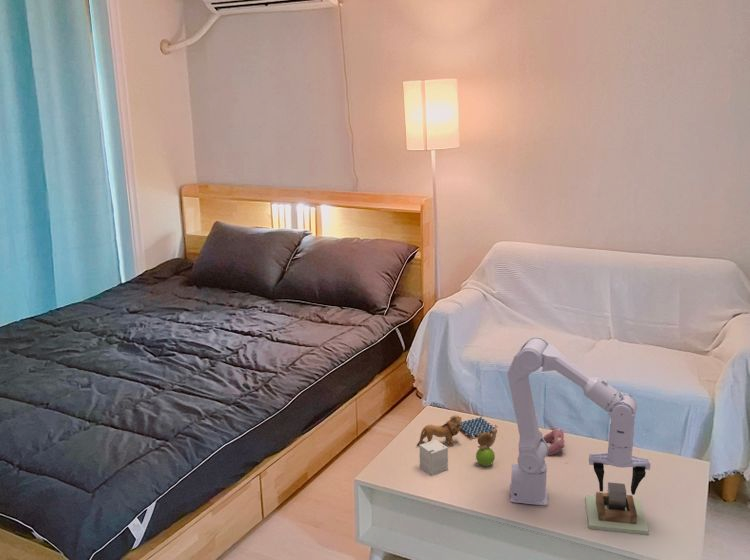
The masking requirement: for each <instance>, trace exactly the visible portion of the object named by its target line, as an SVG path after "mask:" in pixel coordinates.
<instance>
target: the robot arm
mask: <svg viewBox="0 0 750 560" xmlns="http://www.w3.org/2000/svg"><path fill="white" fill-rule="evenodd" d="M540 368H542V369H541V372H551V371H555V372H557V373H558V374H560V375H562V376H563V377H565V378H566V379H568V380H569V381H571V382H573V384H576V385H577V386H579V387H580V388H581V389H582V390H583V391H582V392H583V395H584V396H585V397H586V398H588V399H589V400H591V402H593V403H594V404H596V405H598V406H599V407H600V408H601V409H602V410H604V411H605V412H607V413H608V415H609V418H610V423H609V431H608V432H609V433H608V445H607V447H608V448H607V452H606V453H597V454H594V453H593V454H591V453H589V454H588V464H589V466H590V465H591V466H593V470H594V473H595V475H596V478H597V480H598V488H599V492H600V493H604V475H605V467H604V465H606V466H612V467H616V468H632V478H631V482H630V483H631V485H630V492H631V495H632V496H633V495H634V496H635V495H636V491H637V489H638V487H639V485H640V483H641V481H642V480H643V479H644V478H645V477H646V471H647V470H648V471H650V470H651V464H652V463H651V460H650V459H649V458H648V459H647V458H643V457H639V456H635V455H633V444H634V435H635V417H636V416H635V415H636V412H637V407H638V405H637V401H636V399H635V398H634V397H633V396H632V395H631V394H629V393H626V392H622V391H619V390H617V389H616V388H614V387H613V386H612V385H610V384H609V383H608V382H609V381H608V380H607V379H605V378H604V377H603V378H600V377H599V376H590V375H589V374H587V373H586V372H585V371H584V370H583V369H581V368H580V367H579V366H577V365H576V364H575V363H574V362H573V361H571V360H570V359H569V358H567V357H566V356H565V355H564V354H563V353H561V352H560V350H558V349H557V348H556V347H555V345H553V344H552V343H549V342H548V341H547V340H545V339H544V338H543V337H539V336H534V337H531V338H529V339H528V340H527V341H526V342H525V343H524V344H523V345H522V346H521V347H520V349H519V351H517V353H516V354H515V355H514V356H513V359H512V362H511V364H510V366H509V368H508V371H507V379H508V384H509V390H510V395H511V398H512V400H511V401H512V404H513V409H514V410H513V411H514V415H515V419H516V424H517V429H518V433H519V441H518V453H519V454H518V456H517V463H515V464H513V463H512V464H511V473H510V475H511V476H510V477H511V480H510V483H509V491H510V503H515V504H516V503H517V504H525V505H534V506H535V505H536V506H546V507H547V505H548V489H547V472H548V469H547V467H548V466H547V463H546V460H545V459H546V457H547V456H548V455H547V454H548V452H549V445H548V442H545V440H544V435H543V432H542V431H540V429H539V425H538V419H537V415H536V410H535V405H534V404H535V403H534V399H533V393H532V389H531V383H530V378H529V376H530V374H532V373H534V372H537V371H538V370H539V369H540Z"/></svg>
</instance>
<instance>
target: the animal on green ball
mask: <svg viewBox="0 0 750 560" xmlns="http://www.w3.org/2000/svg"><path fill="white" fill-rule="evenodd" d="M494 427H495V428H494V429H493V430H492V432H493V433H492V435H491V434H490V433H487V432H484V433H482V434H480V435H479V437H478V436H477V437H478V438H477V444H478V446H477V447H478V450H477V451H476V453H475V459H476V461H477V463H478V464H480V465H481V466H483V467H488V466H490V465H492V464H493V463H494V461H495V458H496V455H495V452H494V451H493V449H492V448H490V447H493V445H494V443H495V441H496V436H497V433H498V425H497V424H494Z"/></svg>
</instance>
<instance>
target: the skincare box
mask: <svg viewBox="0 0 750 560" xmlns="http://www.w3.org/2000/svg"><path fill="white" fill-rule="evenodd" d="M448 450H449V449H448V446H447V445H445V444H443V443H441V442H440V441H439V440H437V439H432V440H431V441H430V442H425V443H424V444H421V443H420V445H419V468H421V469H422V470H423V471H425V472H426V473H428V474H429V475H430V476H434V475H437V474H440V473H441V472H445V471H447V470H449V466H448V465H449V464H448V463H449V461H448V460H449V459H448V458H449V454H448V453H449V451H448Z"/></svg>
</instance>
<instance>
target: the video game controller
mask: <svg viewBox="0 0 750 560" xmlns="http://www.w3.org/2000/svg"><path fill="white" fill-rule="evenodd" d="M543 438H544V440H545V442H546V443H549V442H552V444H551V445H548V447H549V452H548V454H547V456H553V455H555V454H557V453H558V452H559V451H561V450H562V449H564V448H565V446H566V445H565V433H564V430H562V429H560V428H557V427H556V428H554V429H553V430H552V431H550V432H549V433H548V432H547V433H546V434H545V435H543Z"/></svg>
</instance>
